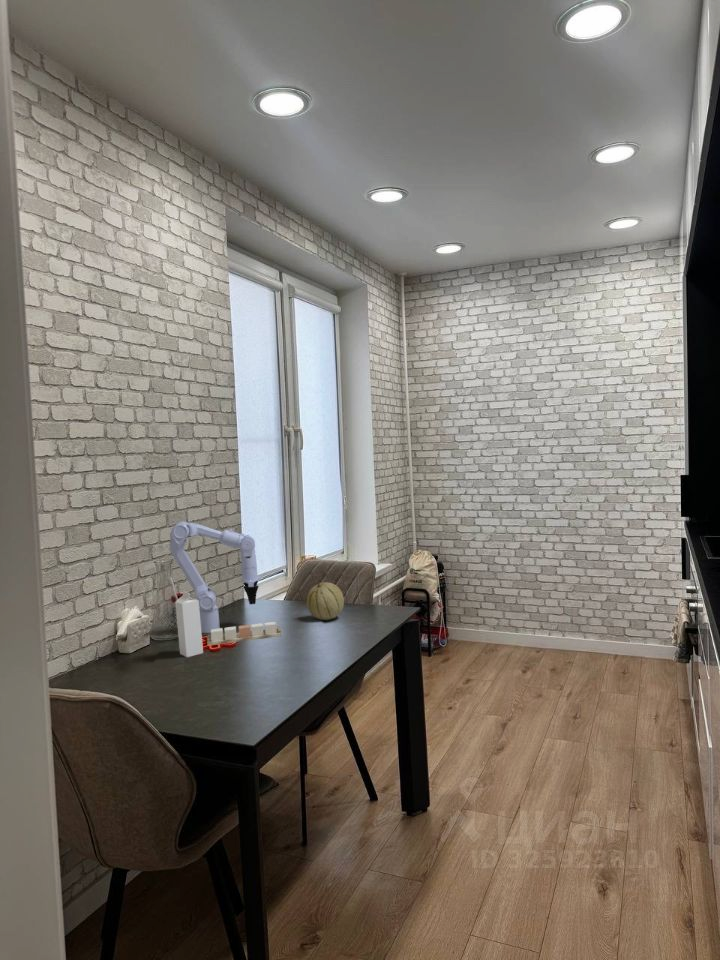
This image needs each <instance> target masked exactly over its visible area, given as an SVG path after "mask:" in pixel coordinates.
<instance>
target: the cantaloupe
mask: <svg viewBox="0 0 720 960" xmlns="http://www.w3.org/2000/svg"><path fill="white" fill-rule="evenodd" d="M344 598H345V597H344V595H343V592H342V590H341V589H340V588H339V587H338V586H337V585H336V584H334V583H332V582H328V581H327V582H326V581H325V582H324V581H323V582H319V583H318V584H316V585H314V586H313V587H311V588H310V590H309V591H308V592H307V596H306V608H307V610H308V612H309V613H310V615H311V616H312V617H313V618H315V619H317V620H319V621H330V620H333V619H335V618H336V617H337V616H339V615H340V614H341V612H342V611H343V608H344V605H345V599H344Z"/></svg>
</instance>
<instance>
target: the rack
mask: <svg viewBox="0 0 720 960" xmlns="http://www.w3.org/2000/svg"><path fill="white" fill-rule="evenodd" d="M280 626H281V625H279V626H278V625H276V629H277V633H276V634H268V635H266V634H265V629H263V635H260V636H252V630H250V633H251V637H244V638H240V637H239V632H236V634H237V638H236V639H228V640H225V633H223V640H220V641H212V640H211V634H207V639H206V641H207V642H206V643H207V646H214V645H215V646H216V645H223V644H229V643H230V644H231V643H232V644H233V643H238V642H239V643H240V642H247V641H255V640H261V639H262V640H263V639H264V640H265V639H271V638H278V637H282V632H281V631H282V630H281V627H280Z"/></svg>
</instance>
